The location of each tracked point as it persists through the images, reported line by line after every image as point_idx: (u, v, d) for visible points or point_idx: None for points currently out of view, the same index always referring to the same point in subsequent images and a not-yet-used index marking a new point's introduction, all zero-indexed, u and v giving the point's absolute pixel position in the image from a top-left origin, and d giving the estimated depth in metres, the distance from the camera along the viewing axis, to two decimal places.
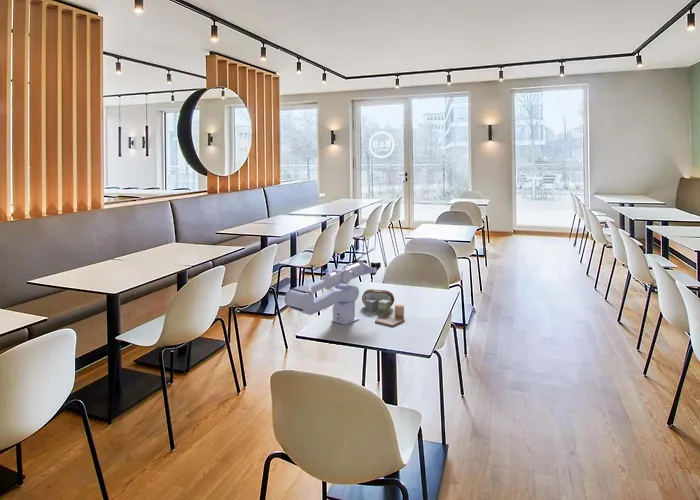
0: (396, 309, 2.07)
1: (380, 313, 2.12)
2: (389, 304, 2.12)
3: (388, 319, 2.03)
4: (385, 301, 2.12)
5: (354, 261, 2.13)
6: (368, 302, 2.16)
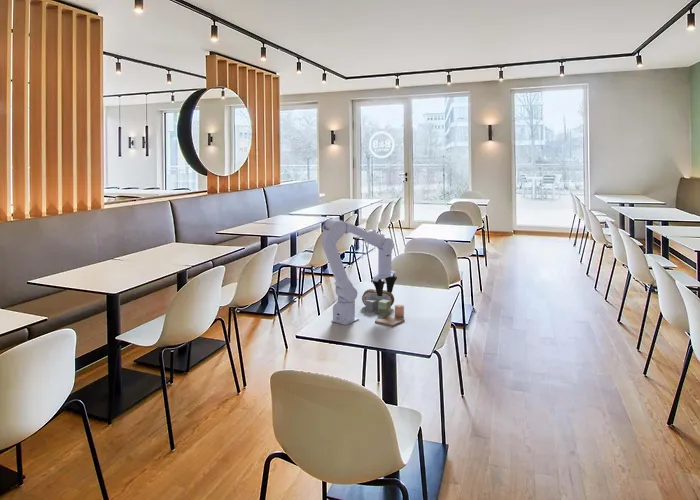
0: (396, 309, 2.07)
1: (380, 313, 2.12)
2: (389, 304, 2.12)
3: (388, 319, 2.03)
4: (385, 301, 2.12)
5: (394, 277, 2.13)
6: (368, 302, 2.16)
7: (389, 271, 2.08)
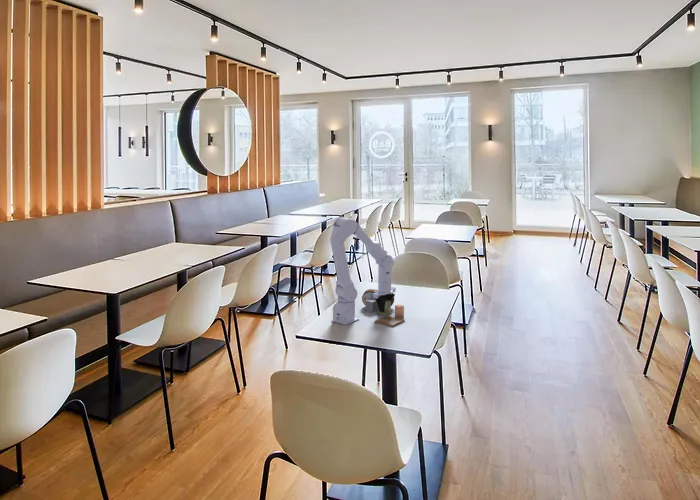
0: (396, 309, 2.07)
1: (380, 313, 2.12)
2: (389, 304, 2.12)
3: (388, 319, 2.03)
4: None
5: None
6: (368, 302, 2.16)
7: (389, 288, 2.09)
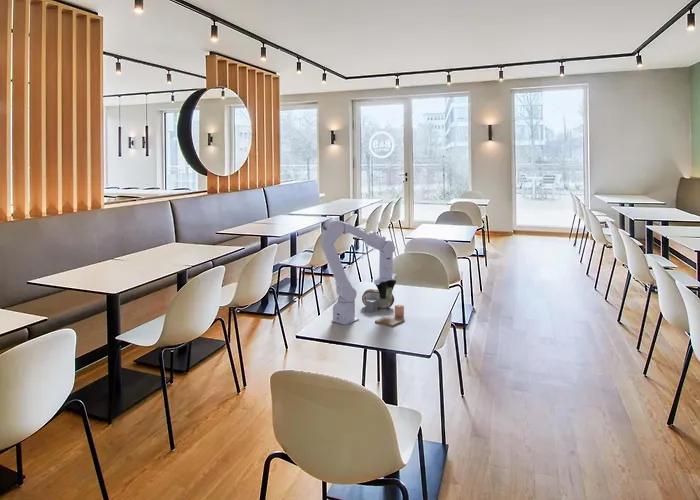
0: (396, 309, 2.07)
1: (381, 300, 2.09)
2: (390, 291, 2.08)
3: (388, 319, 2.03)
4: None
5: None
6: (368, 302, 2.16)
7: (390, 274, 2.05)
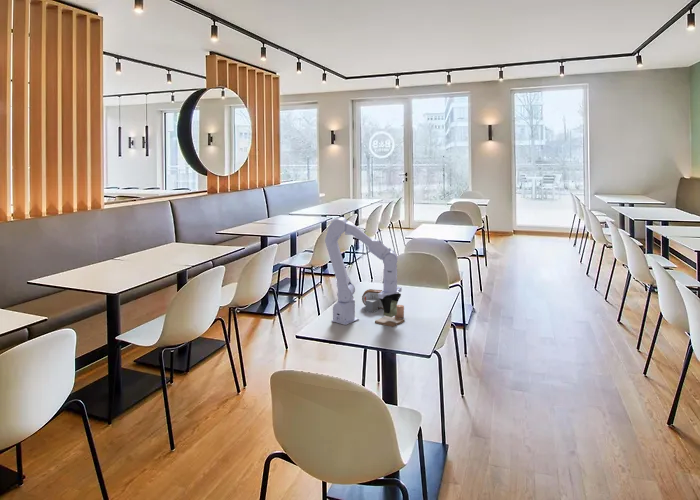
0: None
1: (385, 314, 2.01)
2: (395, 305, 2.01)
3: (388, 319, 2.03)
4: (391, 301, 2.00)
5: None
6: (368, 302, 2.16)
7: (395, 287, 1.98)
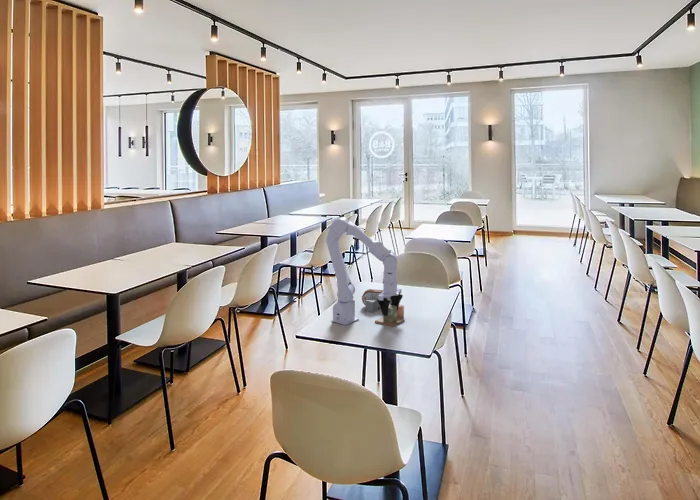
0: None
1: (385, 319, 2.01)
2: (395, 310, 2.01)
3: None
4: (391, 306, 2.01)
5: (400, 295, 2.03)
6: (368, 302, 2.16)
7: (395, 289, 1.98)
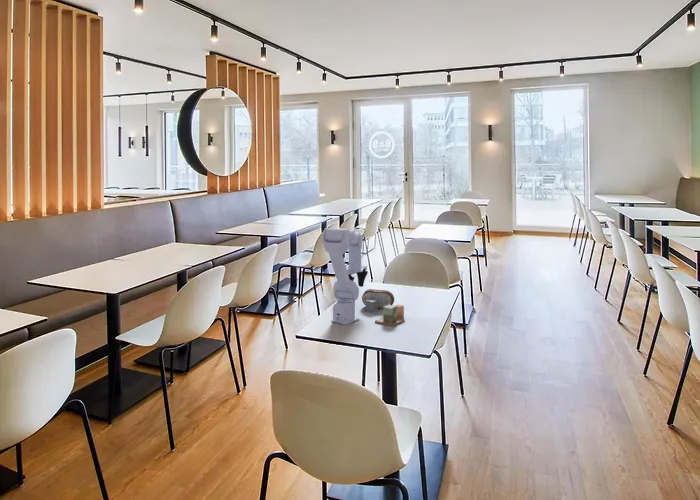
0: None
1: (385, 319, 2.01)
2: (395, 310, 2.01)
3: None
4: (391, 306, 2.01)
5: (365, 271, 2.17)
6: (368, 302, 2.16)
7: (359, 266, 2.12)
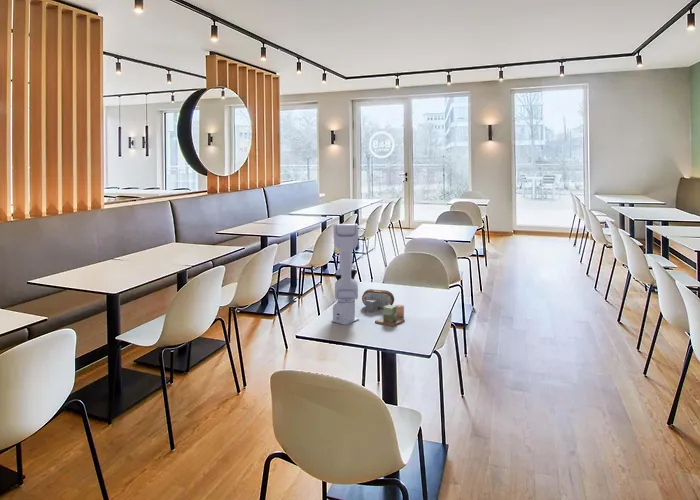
0: None
1: (385, 319, 2.01)
2: (395, 310, 2.01)
3: None
4: (391, 306, 2.01)
5: (355, 270, 2.21)
6: (368, 302, 2.16)
7: (350, 265, 2.15)
